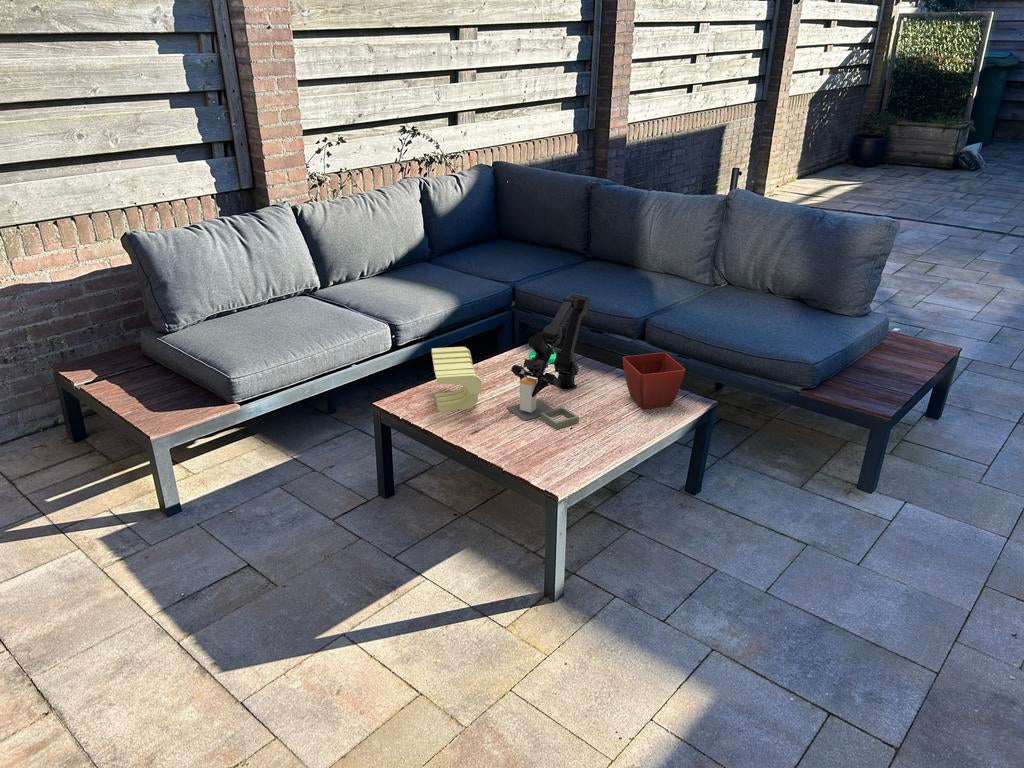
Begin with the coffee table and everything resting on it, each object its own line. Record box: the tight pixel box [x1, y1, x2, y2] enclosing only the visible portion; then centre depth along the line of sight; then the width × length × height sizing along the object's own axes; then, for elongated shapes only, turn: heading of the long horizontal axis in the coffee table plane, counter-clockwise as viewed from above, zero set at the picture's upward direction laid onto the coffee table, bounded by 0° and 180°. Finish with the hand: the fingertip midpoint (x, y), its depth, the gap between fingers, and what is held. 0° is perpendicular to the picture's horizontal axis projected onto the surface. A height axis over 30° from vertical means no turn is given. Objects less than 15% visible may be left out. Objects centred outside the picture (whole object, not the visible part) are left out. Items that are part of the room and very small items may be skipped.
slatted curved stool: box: [431, 346, 482, 412], centre depth 319 cm, size 30×16×18 cm, turn 10°
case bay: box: [539, 406, 580, 430], centre depth 308 cm, size 11×11×2 cm
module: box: [519, 376, 538, 413], centre depth 311 cm, size 4×5×12 cm
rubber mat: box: [506, 398, 554, 422], centre depth 316 cm, size 15×13×1 cm
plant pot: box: [622, 352, 686, 410], centre depth 322 cm, size 19×19×17 cm
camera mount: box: [528, 344, 557, 366], centre depth 361 cm, size 12×8×10 cm, turn 100°
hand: (526, 395), depth 310 cm, fingers closed on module, 5 cm apart
